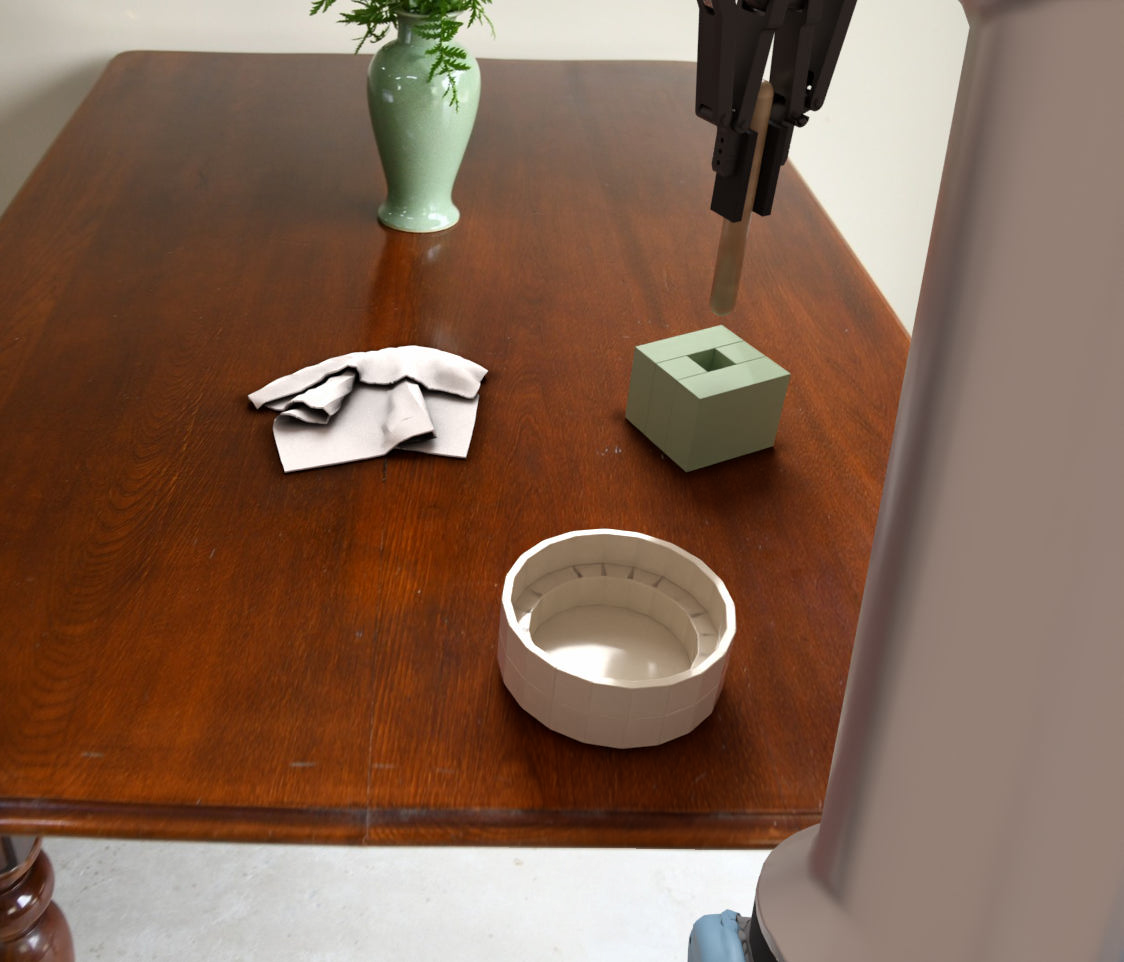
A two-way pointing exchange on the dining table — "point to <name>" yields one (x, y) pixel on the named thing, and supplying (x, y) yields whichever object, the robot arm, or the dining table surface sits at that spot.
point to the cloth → (374, 406)
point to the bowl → (615, 637)
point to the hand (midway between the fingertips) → (740, 211)
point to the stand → (706, 397)
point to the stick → (737, 233)
